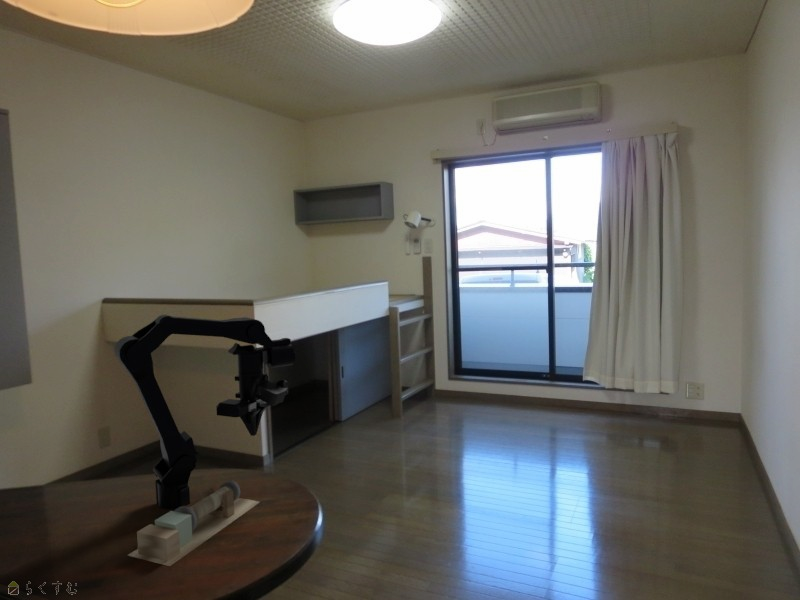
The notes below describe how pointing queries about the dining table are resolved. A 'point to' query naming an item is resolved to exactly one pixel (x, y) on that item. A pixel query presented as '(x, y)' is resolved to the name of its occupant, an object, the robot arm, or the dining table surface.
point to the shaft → (209, 503)
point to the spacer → (177, 525)
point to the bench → (166, 543)
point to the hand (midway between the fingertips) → (253, 435)
